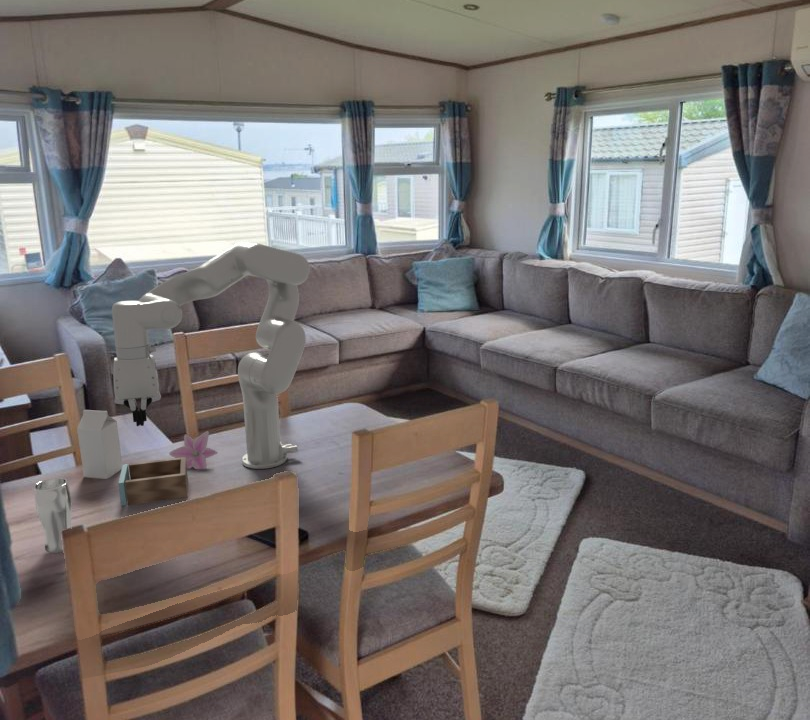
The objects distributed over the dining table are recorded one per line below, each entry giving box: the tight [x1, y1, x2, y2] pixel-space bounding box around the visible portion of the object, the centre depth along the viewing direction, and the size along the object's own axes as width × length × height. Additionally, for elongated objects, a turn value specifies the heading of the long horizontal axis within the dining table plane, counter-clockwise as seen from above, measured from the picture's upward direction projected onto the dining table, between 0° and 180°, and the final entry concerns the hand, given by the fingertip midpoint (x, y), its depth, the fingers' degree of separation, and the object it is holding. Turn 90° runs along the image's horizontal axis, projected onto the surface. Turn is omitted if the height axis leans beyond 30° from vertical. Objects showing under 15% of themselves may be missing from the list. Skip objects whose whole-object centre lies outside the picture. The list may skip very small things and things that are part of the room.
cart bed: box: [125, 457, 189, 506], centre depth 176 cm, size 14×12×7 cm
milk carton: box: [76, 409, 123, 480], centre depth 186 cm, size 7×7×19 cm
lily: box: [169, 430, 218, 470], centre depth 193 cm, size 12×12×10 cm
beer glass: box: [33, 477, 73, 554], centre depth 151 cm, size 7×7×15 cm
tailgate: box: [117, 463, 130, 507], centre depth 173 cm, size 1×12×6 cm, turn 17°
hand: (140, 424), depth 171 cm, fingers closed
